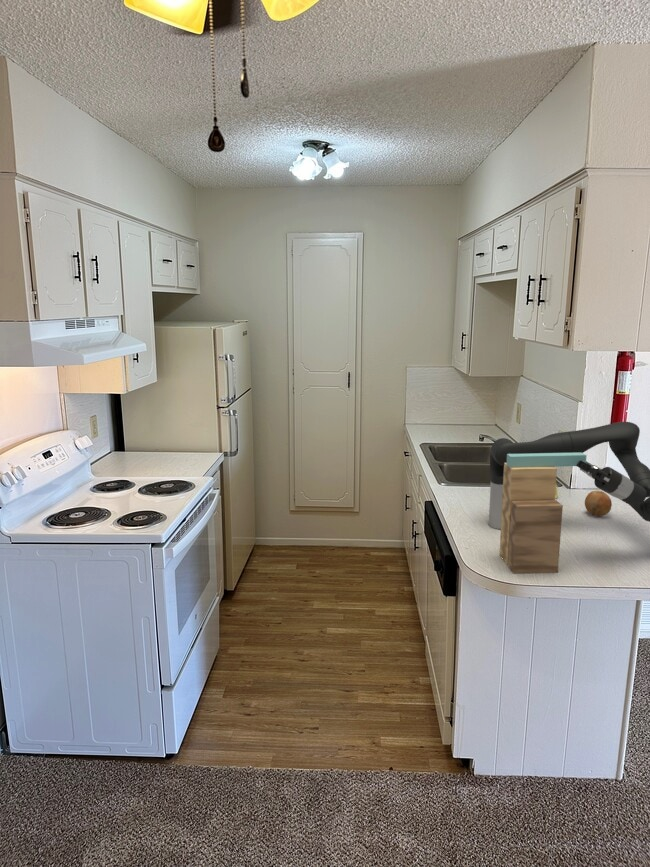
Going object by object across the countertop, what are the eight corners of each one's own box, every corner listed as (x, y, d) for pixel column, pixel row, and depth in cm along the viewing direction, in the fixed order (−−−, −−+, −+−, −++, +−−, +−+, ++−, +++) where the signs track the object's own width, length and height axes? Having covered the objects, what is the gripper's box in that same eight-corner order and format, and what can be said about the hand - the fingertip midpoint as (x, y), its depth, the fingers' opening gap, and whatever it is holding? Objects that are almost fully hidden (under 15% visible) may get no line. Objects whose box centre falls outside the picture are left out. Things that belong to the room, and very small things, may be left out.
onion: (611, 513, 238) (613, 489, 235) (610, 521, 229) (612, 496, 227) (584, 509, 242) (586, 485, 240) (582, 517, 233) (584, 492, 231)
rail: (506, 464, 190) (507, 453, 190) (580, 463, 191) (581, 452, 190) (510, 467, 187) (510, 456, 186) (585, 465, 187) (586, 455, 187)
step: (508, 566, 191) (511, 501, 186) (551, 565, 191) (556, 500, 186) (513, 573, 186) (517, 506, 181) (557, 572, 186) (562, 505, 181)
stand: (499, 555, 199) (504, 462, 193) (540, 554, 200) (547, 461, 193) (507, 565, 192) (512, 469, 185) (550, 564, 192) (557, 468, 185)
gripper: (609, 467, 197) (569, 444, 195) (632, 479, 183) (589, 455, 181) (597, 486, 198) (556, 463, 196) (618, 500, 184) (575, 475, 182)
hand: (572, 459), depth 189 cm, fingers open, 8 cm apart
